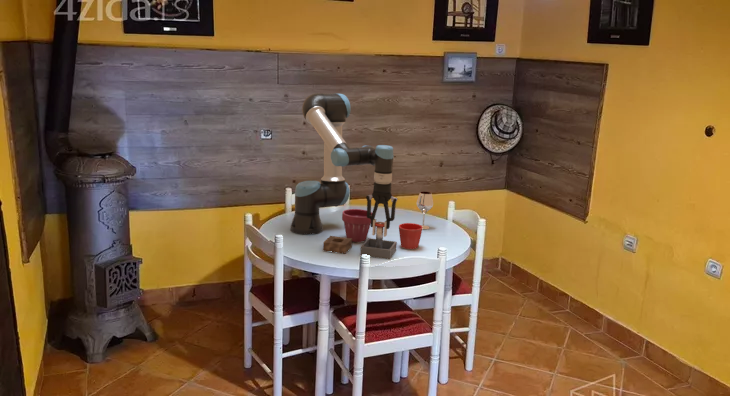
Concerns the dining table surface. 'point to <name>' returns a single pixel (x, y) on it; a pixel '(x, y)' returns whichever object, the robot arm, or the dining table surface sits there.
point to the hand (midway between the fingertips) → (379, 234)
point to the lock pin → (379, 234)
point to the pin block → (337, 244)
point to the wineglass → (425, 204)
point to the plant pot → (356, 224)
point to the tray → (383, 253)
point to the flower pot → (410, 235)
